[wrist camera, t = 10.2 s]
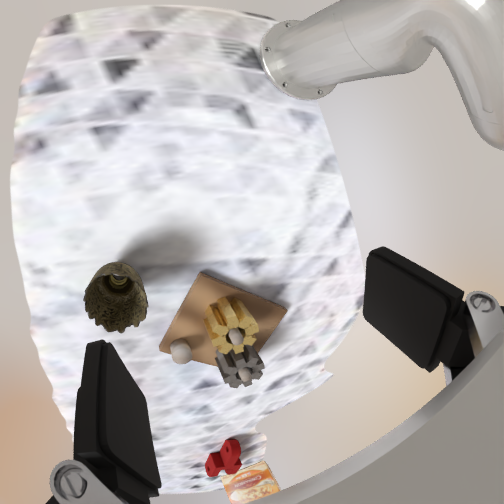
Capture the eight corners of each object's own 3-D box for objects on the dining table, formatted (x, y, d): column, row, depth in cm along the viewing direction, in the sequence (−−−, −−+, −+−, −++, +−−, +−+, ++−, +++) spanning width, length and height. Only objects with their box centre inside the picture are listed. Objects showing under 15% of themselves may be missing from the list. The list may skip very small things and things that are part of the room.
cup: (134, 239, 34) (132, 265, 27) (154, 287, 37) (158, 320, 30) (84, 259, 32) (71, 288, 25) (107, 305, 35) (102, 340, 28)
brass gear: (198, 304, 39) (206, 324, 35) (242, 291, 41) (255, 309, 36) (209, 338, 42) (217, 360, 37) (249, 325, 44) (261, 345, 39)
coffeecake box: (263, 459, 68) (290, 508, 51) (268, 465, 71) (294, 511, 54) (219, 476, 64) (241, 527, 48) (226, 481, 68) (247, 528, 51)
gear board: (199, 271, 39) (212, 297, 32) (284, 306, 46) (305, 331, 40) (159, 346, 40) (164, 378, 34) (241, 367, 48) (256, 395, 42)
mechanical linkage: (228, 462, 62) (233, 476, 58) (203, 465, 59) (209, 479, 55) (244, 434, 58) (251, 450, 54) (217, 437, 55) (223, 453, 51)
